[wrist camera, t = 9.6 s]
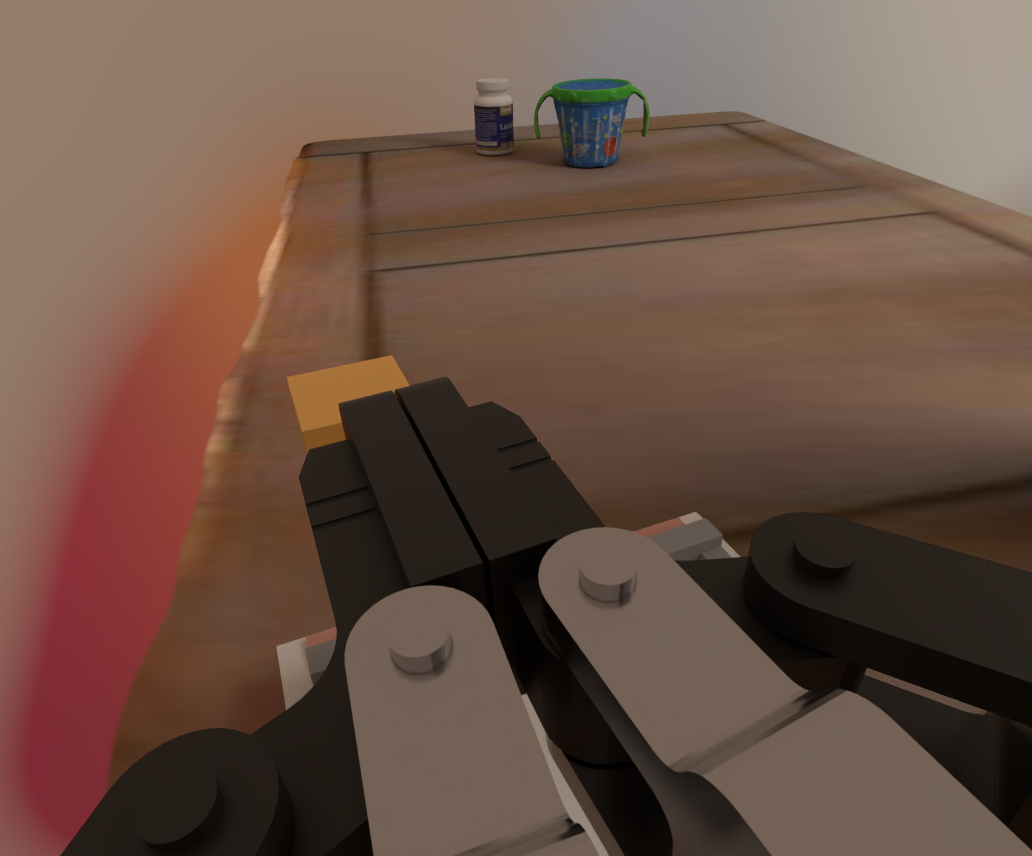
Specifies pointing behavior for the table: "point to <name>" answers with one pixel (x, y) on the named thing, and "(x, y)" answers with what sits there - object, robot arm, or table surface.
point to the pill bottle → (493, 117)
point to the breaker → (338, 395)
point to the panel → (313, 654)
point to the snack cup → (591, 119)
